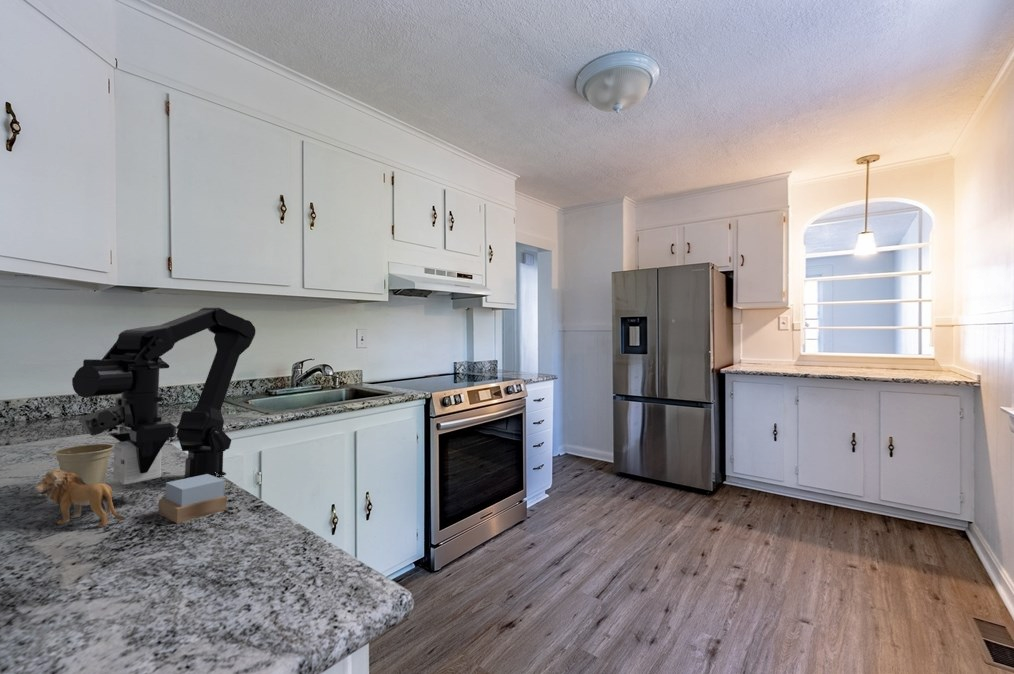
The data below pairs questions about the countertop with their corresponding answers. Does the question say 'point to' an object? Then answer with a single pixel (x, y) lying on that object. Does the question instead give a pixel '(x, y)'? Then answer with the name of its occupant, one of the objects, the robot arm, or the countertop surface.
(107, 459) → the flower pot
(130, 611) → the countertop surface
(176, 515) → the bottom slab
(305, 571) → the countertop surface
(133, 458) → the skincare box
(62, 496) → the lion figurine
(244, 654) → the countertop surface
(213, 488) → the top slab
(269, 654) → the countertop surface
